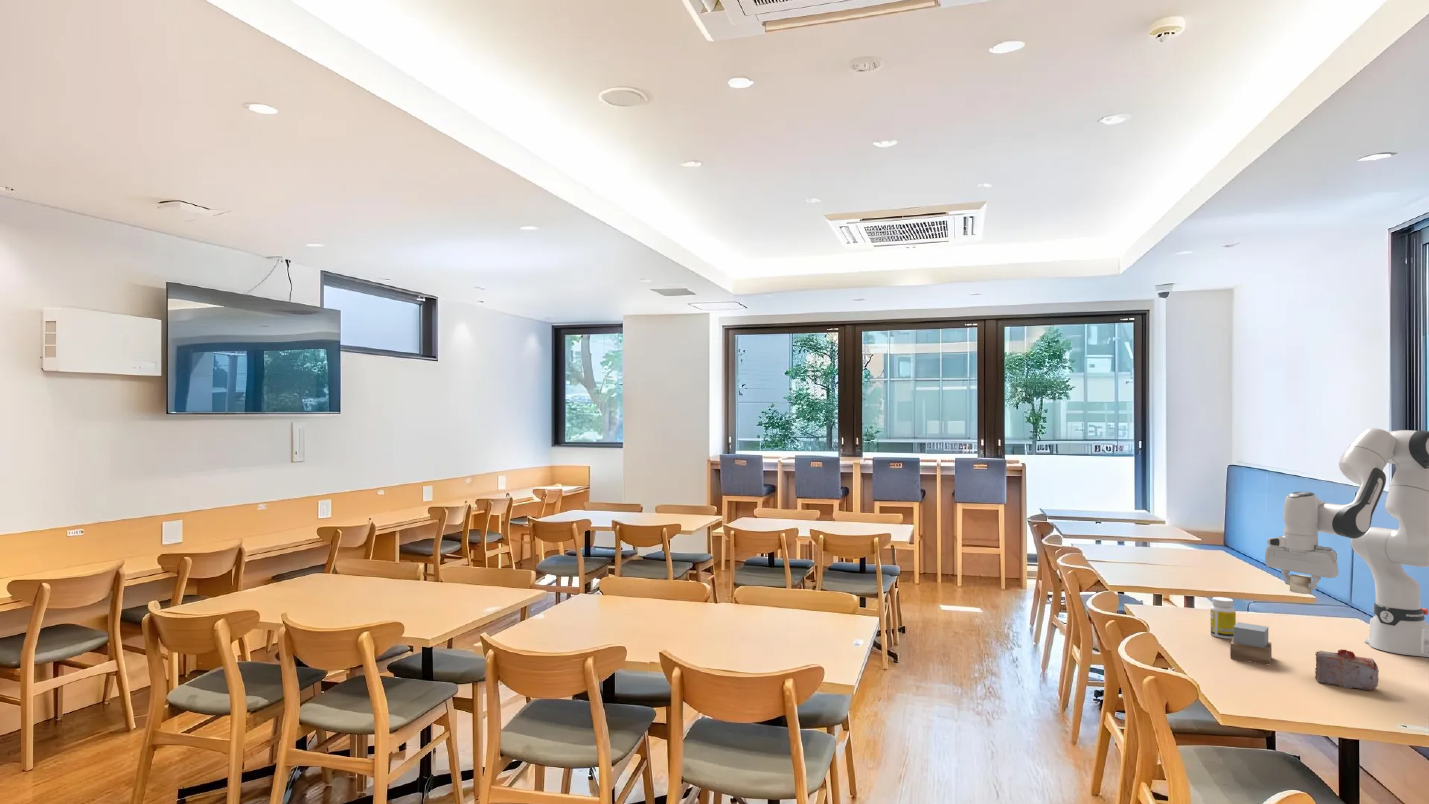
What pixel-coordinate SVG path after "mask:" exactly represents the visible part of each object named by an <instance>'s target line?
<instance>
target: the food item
mask: <svg viewBox="0 0 1429 804" xmlns="http://www.w3.org/2000/svg"><path fill="white" fill-rule="evenodd" d="M1314 670H1315V671H1314V673H1315V674H1314V675H1315V676H1314V678H1315V679H1316V682H1317V683H1318V682H1319V683H1320V684H1327V685H1331V684H1332V686H1340V687H1342V688H1344V687H1345V689H1357V688H1358V690H1363V689H1364V691H1371V690H1373V689H1375V690H1376V688H1377V687H1378V686H1379V685H1378V684H1379V674H1380V673H1379V671H1380V669H1379V667H1378V664H1377V663H1376V661H1375V659H1373V658H1370V657H1363V656H1356V654H1355V653H1354V651H1351V650H1347V649H1339V650H1337V652H1332V651H1324V650H1318V651H1315V668H1314ZM1319 683H1318V684H1319Z"/></svg>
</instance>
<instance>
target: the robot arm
mask: <svg viewBox="0 0 1429 804" xmlns="http://www.w3.org/2000/svg"><path fill="white" fill-rule="evenodd" d="M1344 450H1345V451H1344V452H1343V453H1342V454H1341V456H1340V458H1339V462H1338V467H1339V470H1340V472H1341V474H1343V476H1345V477H1346V479H1348V480H1349V481H1351V482H1352V483H1354V484H1357V485H1359V488H1358V490H1357V493H1356V495H1355V496H1354V499H1353V501H1352V502H1350V503H1348V504H1338V503H1330V502H1325V501H1323V500H1321V499H1319V498H1317V496H1316V494H1315V493H1314V492H1311V491H1294V492H1290V493H1288V494H1287V495H1286V497H1285V499H1284V506H1283V522H1284V528H1283V535H1281V536H1276V537H1270V538H1267V539H1266V543H1267V545H1268V546H1267V547H1266V548H1265V551H1264V552H1265V554H1264V563H1265V565H1266V566H1267V567H1268V568H1272V569H1277V570H1281V572H1280V573H1281V575H1282V577H1283V578H1284V584H1285V585H1289V586H1290V573H1291V572H1293V573H1299V574H1303V575H1309V576H1310V577H1311V583H1308V589H1311V590H1317V584H1318V583H1319V582H1320V580H1321V577H1322V578H1326V579H1327V578H1328V579H1334V578H1335V579H1336V578H1337V577H1338V576H1339V565H1338V553H1337V551H1336V550H1334V549H1333V548H1332V547H1329V546H1323V545H1319V533H1324V534H1329V535H1335V536H1341V537H1345V538H1349V539H1350V545H1351V546H1350V547H1351V548H1352V550H1353V551H1354V553H1355V554H1356V555H1358V556H1359V557H1361V559H1362V560H1363V561H1364V562H1365V564H1366V565H1367V566H1368V569H1369V570H1370V572H1371V575H1372V577H1373V581H1374V591H1375V602H1374V604H1373V614H1374V616H1373V617H1371V618H1370V620H1369V629H1368V637H1367V638H1364V642H1365V643H1367V644H1368V646H1370V647H1372V648H1374V649H1377V650H1381V651H1383V652H1387V653H1392V654H1398V655H1404V656H1405V655H1406V656H1415V657H1423V658H1429V623H1428V622H1426V621H1425V619H1426V618H1425V616H1428V615H1429V609H1428V608H1423V607H1421V605H1422V604H1421V586H1420V584H1419V582H1418V581H1417V579H1415V578H1413V577H1411V575H1408V574H1407V572H1406V571H1405V570H1404V568H1403V566H1402V565H1405V566H1411V567H1417V568H1429V430H1424V429H1423V430H1420V429H1419V430H1409V429H1405V430H1404V429H1399V430H1390V431H1387V430H1384V429H1381V428H1377V427H1376V428H1375V427H1373V428H1368V429H1367V428H1366V430H1364V431H1362V432H1361V433H1359V434H1358V435H1357V436H1356V437H1355V438H1354V439H1353V440H1352V442H1351V443H1350V444H1348V446H1347V447H1346V449H1344ZM1388 464H1393V465H1395V472H1394V473H1393V476H1392V478H1391V480H1390V485H1389V488H1388V492H1387V496H1386V501H1385V504H1384V507H1385V510H1386V512H1387V514H1388V515H1389V516H1391V517H1392V518H1394V519H1395V520H1397V522H1398V528H1397V529H1394V528H1387V527H1386V528H1385V527H1377V526H1372V527H1371V524H1372V520H1373V515H1374V512H1375V510H1376V508H1377V505H1378V504H1379V501H1380V499H1381V497H1382V494H1383V492H1384V489H1385V486H1386V482H1387V476H1386V473H1385V472H1384V468H1385V467H1386V465H1388Z"/></svg>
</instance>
